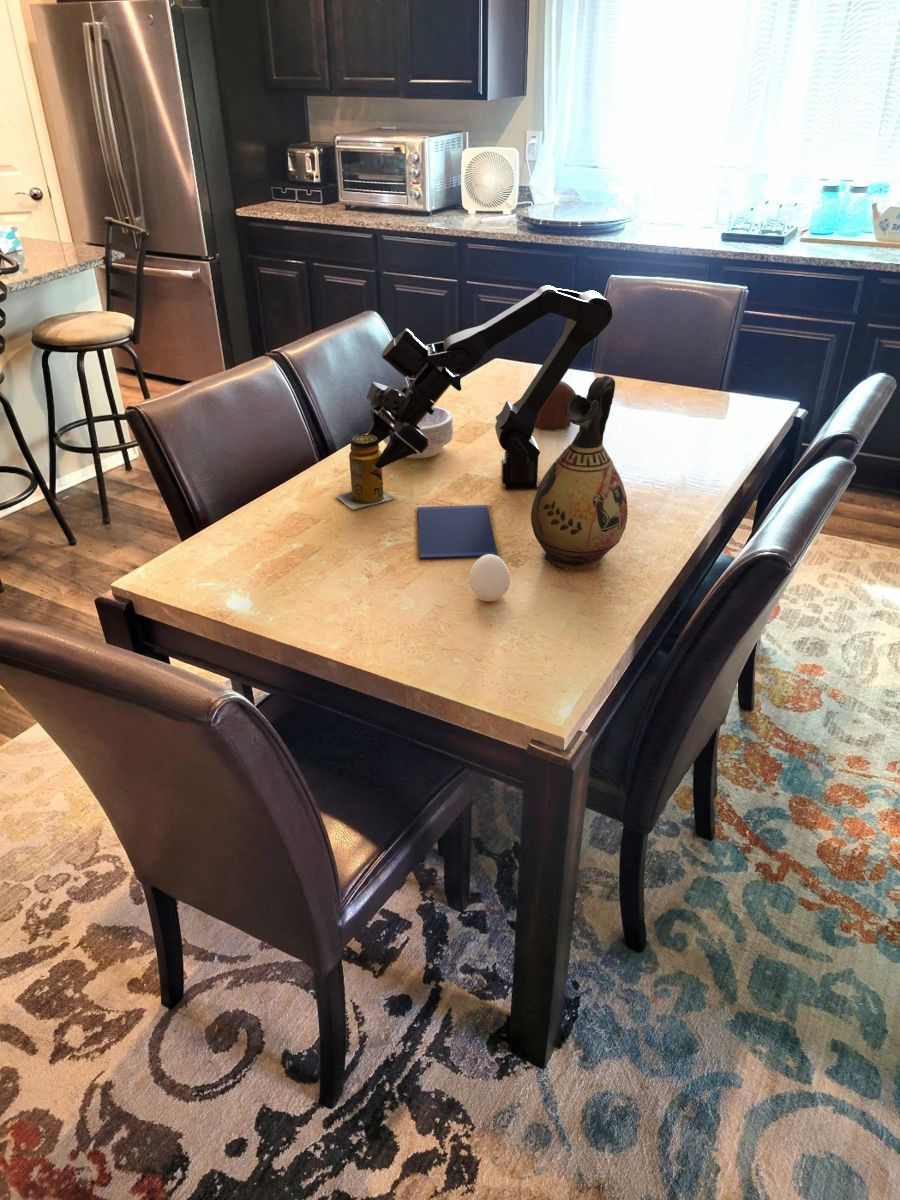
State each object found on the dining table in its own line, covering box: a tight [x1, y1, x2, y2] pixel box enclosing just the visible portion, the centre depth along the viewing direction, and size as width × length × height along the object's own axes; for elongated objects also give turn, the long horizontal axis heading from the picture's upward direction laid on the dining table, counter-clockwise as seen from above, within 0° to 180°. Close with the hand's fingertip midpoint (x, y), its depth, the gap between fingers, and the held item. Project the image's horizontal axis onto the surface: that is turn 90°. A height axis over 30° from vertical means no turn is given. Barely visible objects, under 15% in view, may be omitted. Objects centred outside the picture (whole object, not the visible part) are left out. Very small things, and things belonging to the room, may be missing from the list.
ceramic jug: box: [530, 374, 629, 572], centre depth 135 cm, size 17×15×30 cm
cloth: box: [417, 504, 498, 561], centre depth 151 cm, size 13×20×1 cm, turn 3°
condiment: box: [335, 433, 392, 511], centre depth 160 cm, size 7×8×12 cm
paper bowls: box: [383, 405, 454, 459], centre depth 182 cm, size 15×15×8 cm
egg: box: [469, 554, 511, 603], centre depth 129 cm, size 6×6×8 cm
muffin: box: [535, 380, 577, 432], centre depth 196 cm, size 12×11×10 cm
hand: (369, 458), depth 160 cm, fingers open, 9 cm apart
